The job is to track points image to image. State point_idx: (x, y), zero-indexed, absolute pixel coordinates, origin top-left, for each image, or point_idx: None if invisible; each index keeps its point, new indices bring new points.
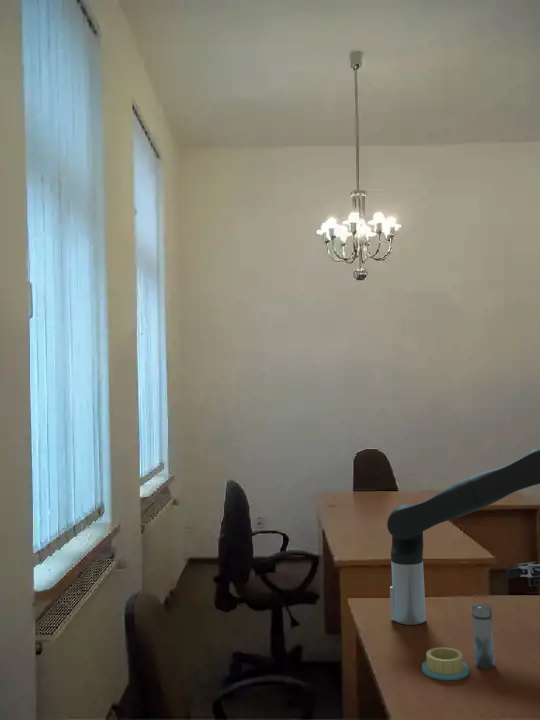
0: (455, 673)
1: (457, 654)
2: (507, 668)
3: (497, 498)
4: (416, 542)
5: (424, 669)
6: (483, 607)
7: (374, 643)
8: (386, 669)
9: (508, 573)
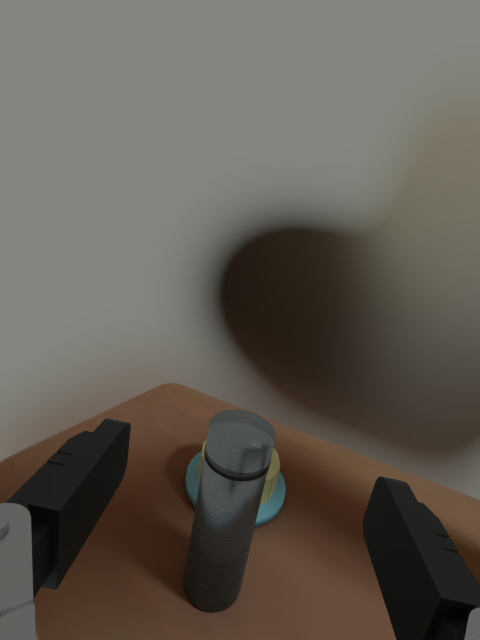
0: (197, 469)
1: None
2: (151, 627)
3: None
4: None
5: None
6: (234, 427)
7: (419, 484)
8: (290, 435)
9: (373, 498)
